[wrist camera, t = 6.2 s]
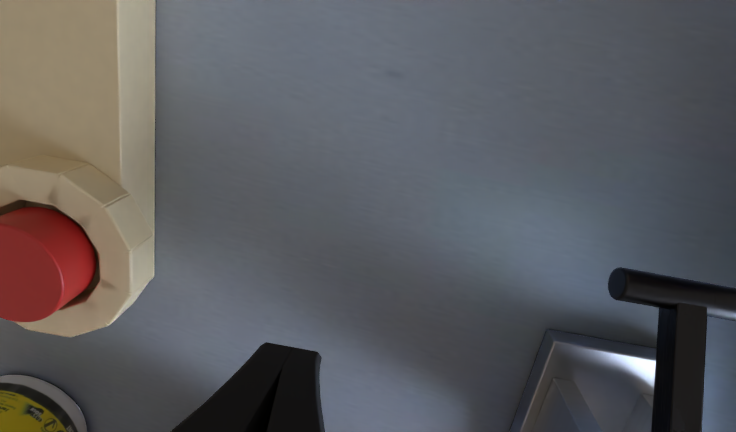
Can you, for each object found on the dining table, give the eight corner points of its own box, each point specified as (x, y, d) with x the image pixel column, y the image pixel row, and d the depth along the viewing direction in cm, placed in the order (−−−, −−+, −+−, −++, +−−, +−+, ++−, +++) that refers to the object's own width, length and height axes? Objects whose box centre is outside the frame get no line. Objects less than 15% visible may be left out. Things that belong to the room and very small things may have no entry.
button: (99, 304, 16) (66, 332, 15) (4, 287, 16) (-40, 313, 15) (95, 215, 15) (58, 234, 13) (-7, 197, 15) (-57, 213, 13)
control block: (181, 295, 20) (132, 349, 16) (-15, 260, 20) (-110, 306, 16) (191, -67, 15) (125, -111, 11) (-69, -115, 15) (-221, -174, 11)
